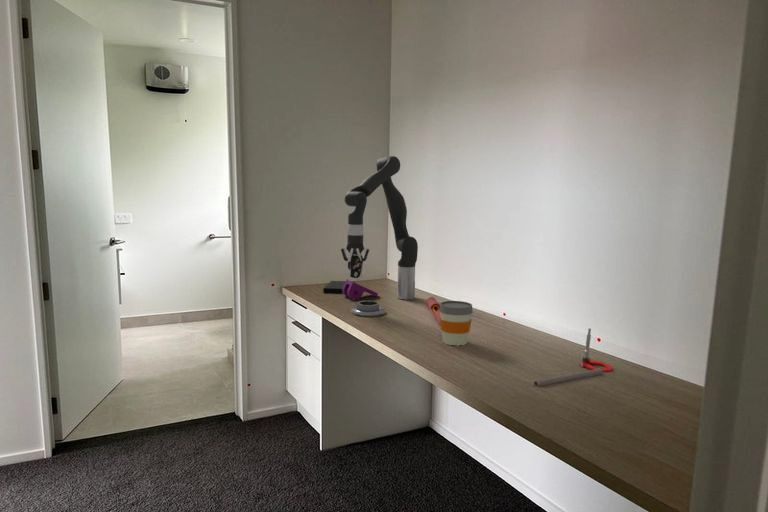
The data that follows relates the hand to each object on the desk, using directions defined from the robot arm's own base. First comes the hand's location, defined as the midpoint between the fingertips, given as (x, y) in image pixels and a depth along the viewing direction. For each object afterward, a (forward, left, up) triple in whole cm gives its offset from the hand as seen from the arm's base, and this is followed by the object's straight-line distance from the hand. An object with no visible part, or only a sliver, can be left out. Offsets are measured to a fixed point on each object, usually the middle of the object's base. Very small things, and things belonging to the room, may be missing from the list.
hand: (355, 269), depth 248 cm
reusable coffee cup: (-43, +51, -19) cm, 69 cm away
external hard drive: (+13, -47, -20) cm, 52 cm away
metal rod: (-75, +87, -20) cm, 117 cm away
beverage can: (0, 0, -5) cm, 5 cm away
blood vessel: (-39, +11, -20) cm, 45 cm away
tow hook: (-88, +75, -20) cm, 117 cm away
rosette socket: (-7, +7, -19) cm, 22 cm away
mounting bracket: (-1, -27, -20) cm, 33 cm away
